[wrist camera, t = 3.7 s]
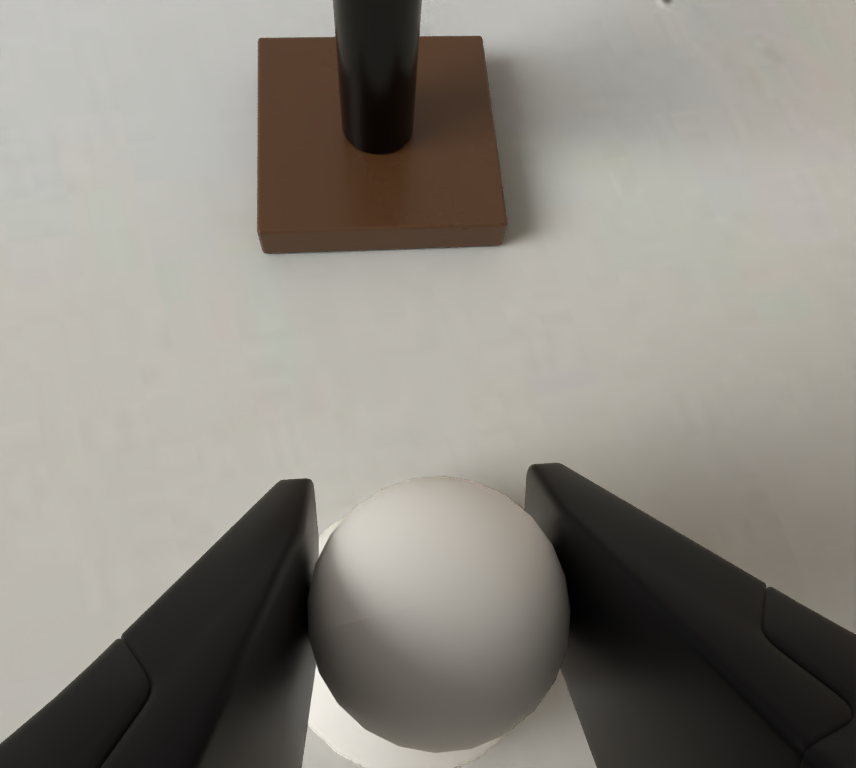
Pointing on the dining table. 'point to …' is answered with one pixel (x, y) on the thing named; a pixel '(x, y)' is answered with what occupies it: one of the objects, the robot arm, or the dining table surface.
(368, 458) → the dining table surface
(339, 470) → the dining table surface
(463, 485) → the chess pawn
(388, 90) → the post stand
